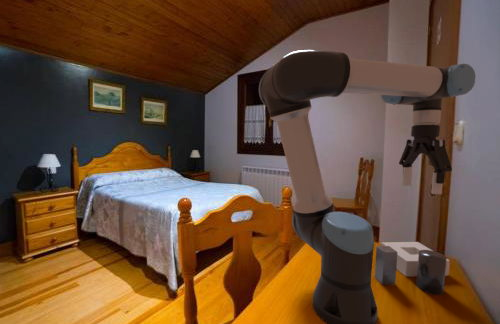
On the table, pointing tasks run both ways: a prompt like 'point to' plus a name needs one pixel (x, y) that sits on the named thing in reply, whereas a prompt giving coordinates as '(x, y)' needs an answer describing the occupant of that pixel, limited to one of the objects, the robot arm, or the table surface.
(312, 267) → the table surface
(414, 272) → the socket block
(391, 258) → the square bit
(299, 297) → the table surface
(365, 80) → the robot arm
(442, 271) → the cylinder
